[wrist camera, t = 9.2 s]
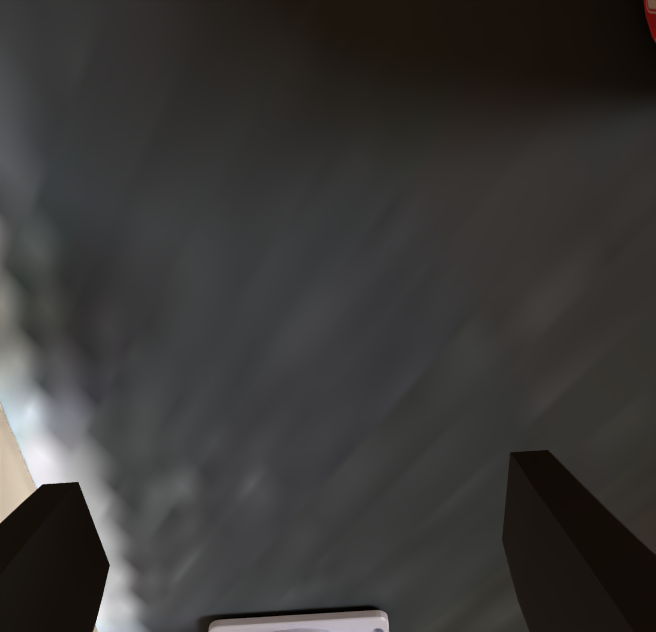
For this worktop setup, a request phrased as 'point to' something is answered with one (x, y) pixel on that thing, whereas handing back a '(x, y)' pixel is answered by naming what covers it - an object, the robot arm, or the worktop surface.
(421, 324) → the worktop surface
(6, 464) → the bore box
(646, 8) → the soda can
